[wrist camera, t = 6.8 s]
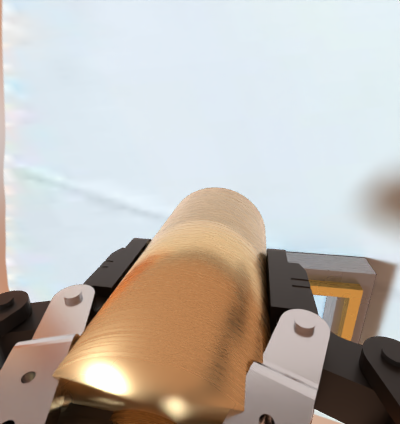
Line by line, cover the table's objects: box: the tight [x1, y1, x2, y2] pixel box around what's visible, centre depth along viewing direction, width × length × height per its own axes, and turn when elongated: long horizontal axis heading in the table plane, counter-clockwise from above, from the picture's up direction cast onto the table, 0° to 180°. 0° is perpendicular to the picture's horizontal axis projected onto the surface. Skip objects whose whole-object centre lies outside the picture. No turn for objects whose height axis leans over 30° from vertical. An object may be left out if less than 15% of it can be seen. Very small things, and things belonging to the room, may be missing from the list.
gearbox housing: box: [266, 251, 377, 344], centre depth 30 cm, size 20×14×8 cm
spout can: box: [52, 188, 271, 424], centre depth 9 cm, size 5×5×12 cm
